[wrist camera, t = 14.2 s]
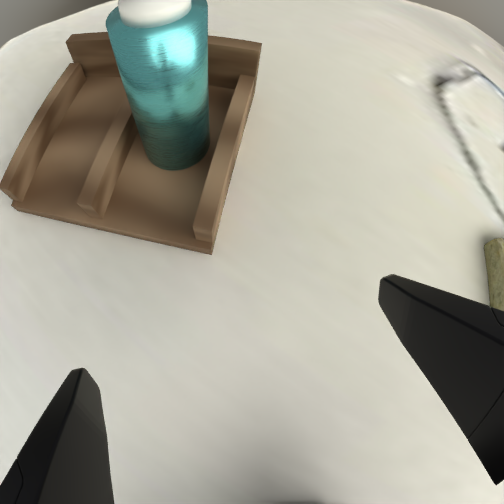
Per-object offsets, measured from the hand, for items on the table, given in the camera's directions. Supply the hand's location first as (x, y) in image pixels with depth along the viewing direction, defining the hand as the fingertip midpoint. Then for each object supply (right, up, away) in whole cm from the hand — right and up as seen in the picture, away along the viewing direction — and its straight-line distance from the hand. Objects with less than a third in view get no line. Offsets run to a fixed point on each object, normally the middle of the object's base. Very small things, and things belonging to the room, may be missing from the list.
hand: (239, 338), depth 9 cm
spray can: (-6, +11, +15) cm, 20 cm away
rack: (-10, +12, +17) cm, 22 cm away
